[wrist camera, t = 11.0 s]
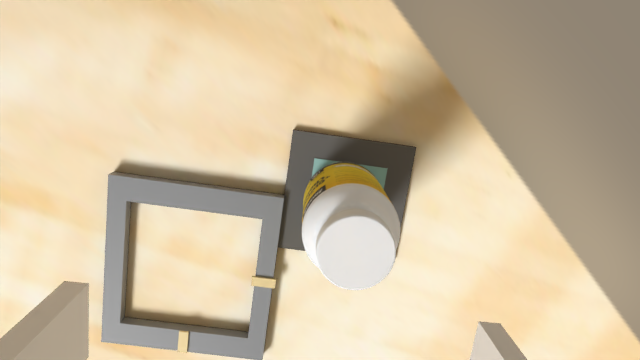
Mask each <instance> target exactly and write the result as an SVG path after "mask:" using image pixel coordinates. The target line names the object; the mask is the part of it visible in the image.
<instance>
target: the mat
mask: <svg viewBox="0 0 640 360" xmlns="http://www.w3.org/2000/svg"><path fill="white" fill-rule="evenodd" d="M415 151H416V147H412V146H405V145H398V144H391V143H384V142H377V141H370V140H363V139H356V138H349V137H342V136H335V135H328V134H321V133H314V132H307V131H300V130H293V135H292V143H291V150H290V158H289V165H288V173H287V180H286V188H285V195H284V203H283V210H282V218H281V225H280V233H279V240H278V247H280V248H288V249H295V250H303V251H305V248H304V245H303V241H302V217H303V198H304V192H305V189H306V186H307V184H308V182H309V180H310V179H311V178H312V176H313V175H314V174H315V173H316V172H317V171H319V170H320V169H321V168H323V167H325V166H327V165H329V164H332V163H336V162H351V163H355V164H358V165H361V166H363V167H364V168H366V169H367V170H369V171H370V172H371V173H372V174H373V175H374V176H375V177H376V179H377V180H378V182H379V183H380V185H381V187H382V188H383V190H384V191H385V193H386V195H387V196H388V198H389V200H390V201H391V203H392V204H393V206H394V208H395V210H396V212H397V215H398V218H399V222H400V227H401V222H402V217H403V212H404V207H405V202H406V197H407V192H408V187H409V182H410V177H411V171H412V166H413V161H414V156H415Z"/></svg>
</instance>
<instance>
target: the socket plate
mask: <svg viewBox="0 0 640 360" xmlns="http://www.w3.org/2000/svg"><path fill="white" fill-rule="evenodd" d="M131 202H137V203H145V204H152V205H160V206H167V207H175V208H182V209H190V210H198V211H205V212H213V213H220V214H228V215H235V216H243V217H250V218H258V219H263V220H262V228H261V236H260V244H259V252H258V260H257V268H256V276H252V283H251V286H254V293H253V301H252V309H251V317H250V325H249V332H245V331H237V330H228V329H220V328H212V327H203V326H195V325H186V324H178V323H169V322H161V321H153V320H144V319H136V318H127V317H125V301H126V282H127V264H128V246H129V228H130V210H131ZM283 203H284V195H281V194H274V193H266V192H259V191H252V190H244V189H237V188H229V187H222V186H215V185H207V184H200V183H193V182H185V181H178V180H170V179H163V178H156V177H148V176H141V175H134V174H126V173H119V172H112V173H110V174H109V175H108V198H107V222H106V245H105V268H104V292H103V315H102V339H101V342H107V343H116V344H125V345H133V346H142V347H151V348H159V349H168V350H177V352H181V353H187V352H194V353H203V354H211V355H220V356H229V357H237V358H246V359H254V360H262V359H263V353H264V346H265V338H266V331H267V323H268V316H269V308H270V301H271V293H272V288H274V289H275V284H276V279H273V278H274V271H275V263H276V256H277V248H278V240H279V233H280V225H281V218H282V210H283Z"/></svg>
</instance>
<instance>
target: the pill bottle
mask: <svg viewBox="0 0 640 360" xmlns="http://www.w3.org/2000/svg"><path fill="white" fill-rule="evenodd" d="M399 239H400V222H399V218H398V215H397V212H396V210H395V208H394V206H393V204H392V203H391V201H390V200H389V198H388V196H387V195H386V193H385V191H384V190H383V188H382V187H381V185H380V183H379V182H378V180H377V179H376V177H375V176H374V175H373V174H372V173H371V172H370V171H369V170H367V169H366V168H364V167H363V166H361V165H358V164H355V163H351V162H336V163H332V164H329V165H327V166H325V167H323V168H321V169H320V170H319V171H317V172H316V173H315V174H314V175H313V176H312V178H311V179H310V180H309V182H308V184H307V186H306V189H305V192H304V198H303V217H302V241H303V245H304V248H305V251H306V253H307V255H308V256H309V258H310V259H311V261H312V262H313V263H314V264H315V265H316V266H317V267H318V268H319V269H320V270H321V272H322V273H323V275H324V276H325V277H326V278H327V279H328V280H329V281H330V282H331V283H333V284H334V285H336V286H338V287H341V288H344V289H349V290H362V289H367V288H370V287H372V286H374V285H376V284H378V283H379V282H381V281H382V280H383V279H384V278H385V277H386V276H387V275H388V274H389V272H390V271H391V269H392V267H393V264H394V262H395V257H396V249H397V247H398V244H399Z"/></svg>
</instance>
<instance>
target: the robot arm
mask: <svg viewBox="0 0 640 360" xmlns="http://www.w3.org/2000/svg"><path fill="white" fill-rule="evenodd" d="M88 317H89V283H79V282H68V281H64V282H63V283H62V284H61V285H60V286H59V287H57V288H56V289H55V290H54V291H53V292H52V293H51V294H50V295H49V296H47V297H46V298H45V299H44V300H43V301H42V302H41V303H40V304H39V305H37V306H36V307H35V308H34V309H33V310H32V311H31V312H30V313H29V314H27V315H26V316H25V317H24V318H23V319H22V320H21V321H20V322H18V323H17V324H16V325H15V326H14V327H13V328H12V329H11V330H10V331H8V332H7V333H6V334H5V335H4V336H3V337H2V338H1V339H0V360H86V359H87V358H88ZM470 360H527V359H526V357H525V356H524V355H523V353H522V352H521V351H520V349H519V348H518V347H517V345H516V344H515V343H514V341H513V340H512V339H511V337H510V336H509V335H508V333H507V332H506V331H505V329H504V328H503V327H502V325H501V324H499V323H489V322H478V326H477V331H476V335H475V339H474V343H473V348H472V352H471V356H470Z"/></svg>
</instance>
